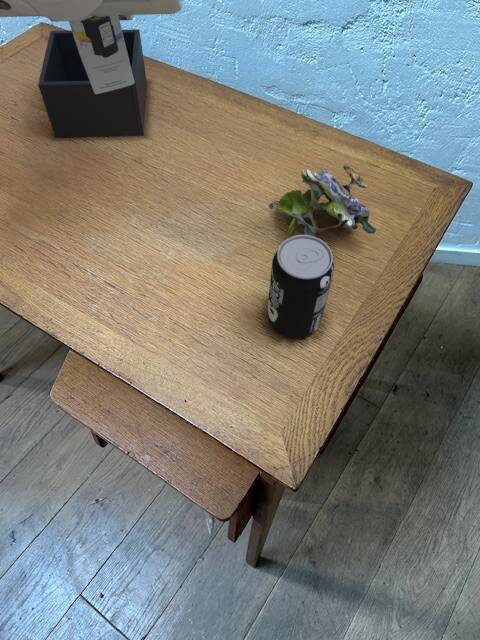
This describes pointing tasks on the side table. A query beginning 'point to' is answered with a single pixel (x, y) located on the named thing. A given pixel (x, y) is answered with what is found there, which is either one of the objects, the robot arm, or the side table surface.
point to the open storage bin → (91, 92)
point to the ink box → (103, 52)
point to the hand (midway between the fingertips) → (91, 13)
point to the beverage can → (299, 286)
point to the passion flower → (337, 206)
